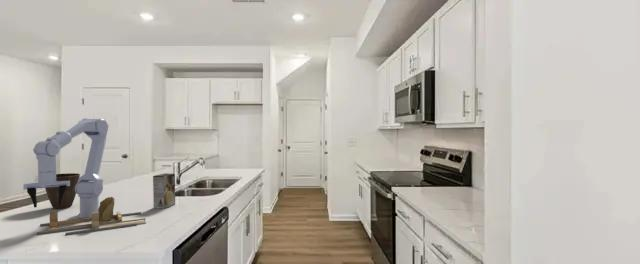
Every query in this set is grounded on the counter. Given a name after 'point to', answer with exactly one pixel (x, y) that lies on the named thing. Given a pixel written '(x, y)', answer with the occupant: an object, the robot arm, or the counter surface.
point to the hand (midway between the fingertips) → (47, 205)
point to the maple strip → (96, 224)
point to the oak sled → (75, 221)
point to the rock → (106, 209)
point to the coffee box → (164, 190)
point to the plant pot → (68, 194)
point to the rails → (91, 226)
